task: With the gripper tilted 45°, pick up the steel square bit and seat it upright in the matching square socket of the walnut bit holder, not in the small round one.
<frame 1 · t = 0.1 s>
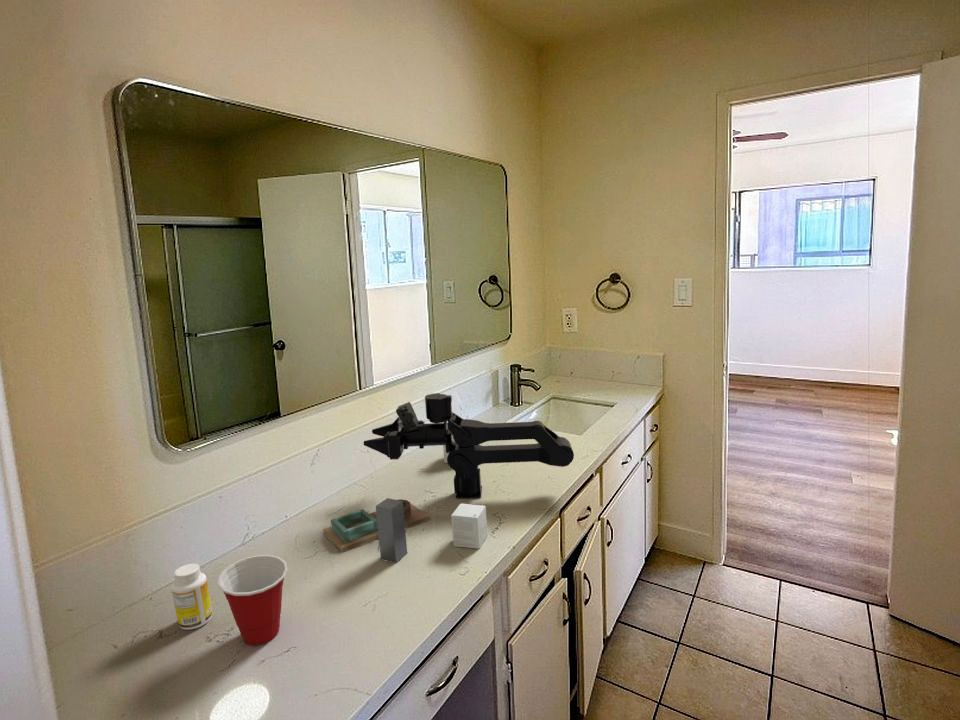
hand: (368, 437, 144), 17 cm above the worktop, tool horizontal, fingers open, 9 cm apart
supplement bottle: (196, 622, 100), on the worktop
product box: (470, 542, 122), on the worktop
plastic cup: (262, 635, 95), on the worktop
medicine bottle: (458, 459, 171), on the worktop
square bit: (394, 556, 117), on the worktop
bit holder: (377, 526, 131), on the worktop
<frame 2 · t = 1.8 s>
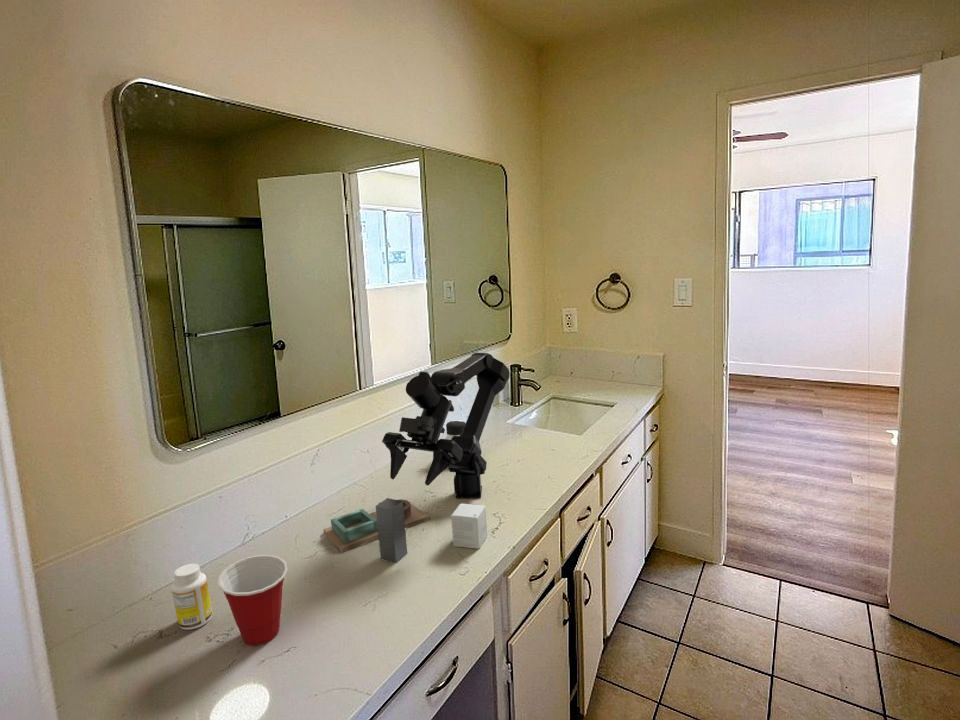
hand: (408, 481, 122), 14 cm above the worktop, tool tilted 45°, fingers open, 9 cm apart
nothing on the worktop moved.
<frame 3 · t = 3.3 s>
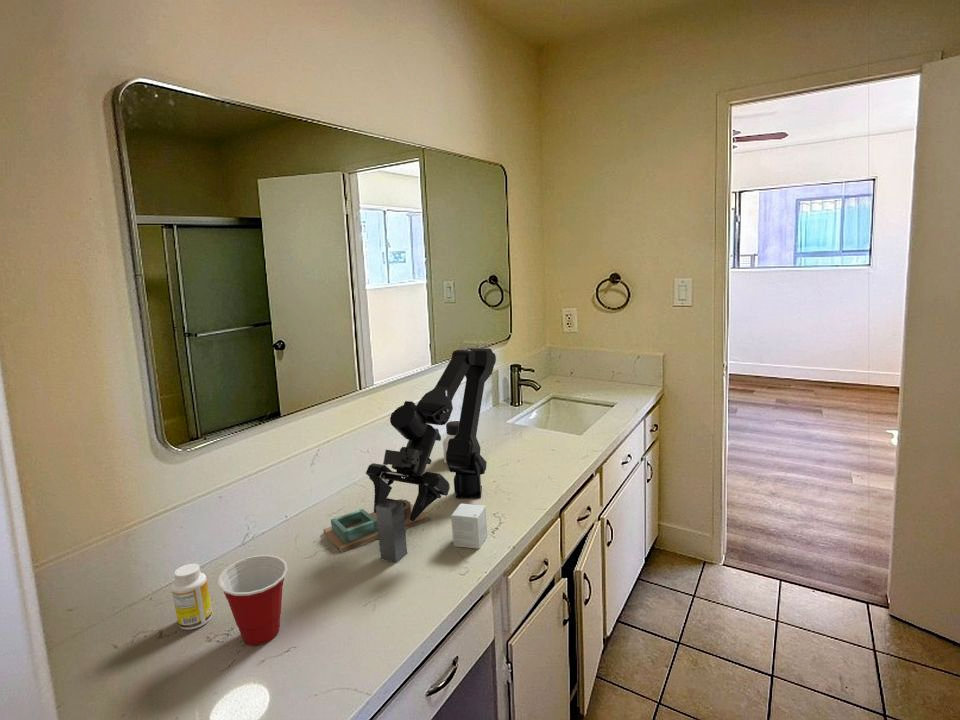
hand: (393, 516, 117), 9 cm above the worktop, tool tilted 45°, fingers open, 9 cm apart
nothing on the worktop moved.
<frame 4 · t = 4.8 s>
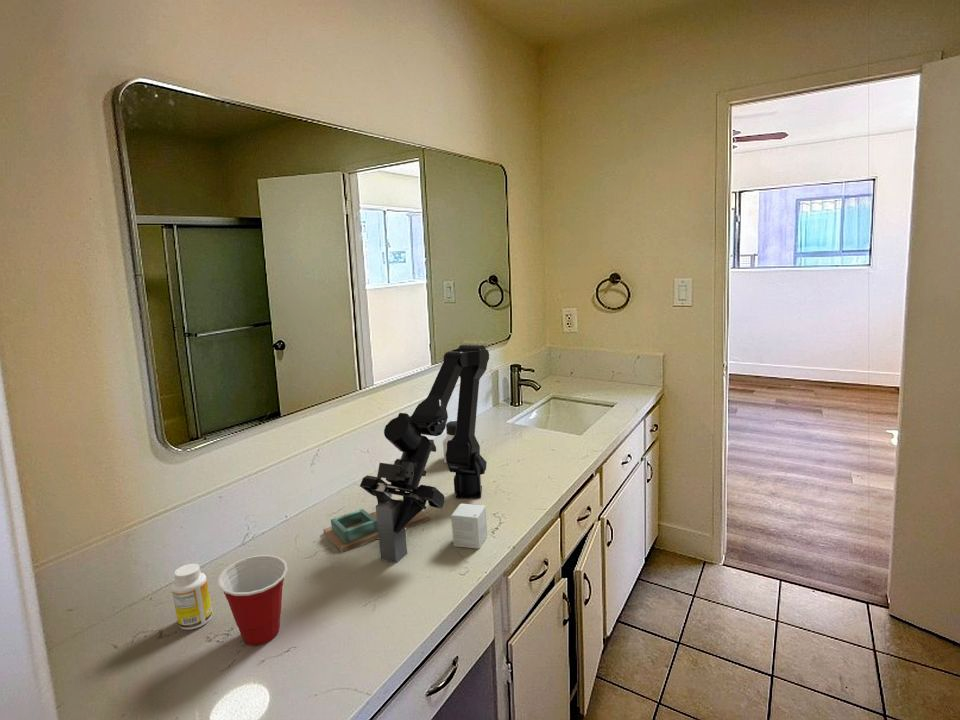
hand: (387, 530, 115), 7 cm above the worktop, tool tilted 45°, fingers closed on square bit, 4 cm apart
square bit: (394, 556, 117), on the worktop, touching gripper
everything else where it was.
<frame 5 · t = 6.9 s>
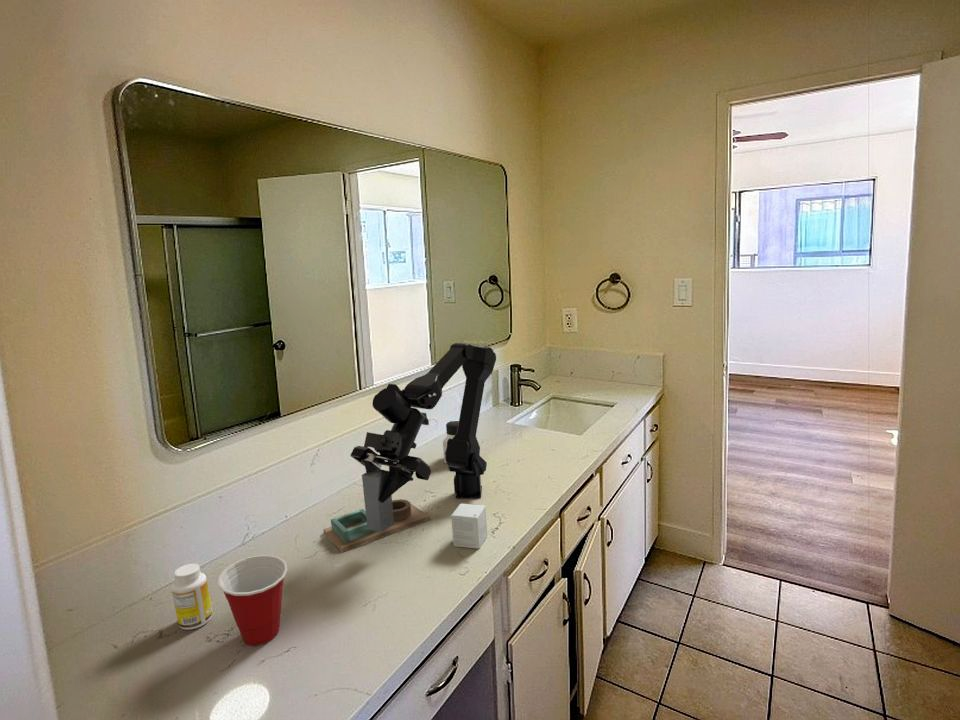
hand: (373, 499, 116), 13 cm above the worktop, tool tilted 45°, fingers closed on square bit, 4 cm apart
square bit: (380, 526, 118), point 6 cm above the worktop, touching gripper
everything else where it was.
when the fingers open (8 cm above the worktop, at t = 9.5 s): square bit stays where it is, resting on bit holder.
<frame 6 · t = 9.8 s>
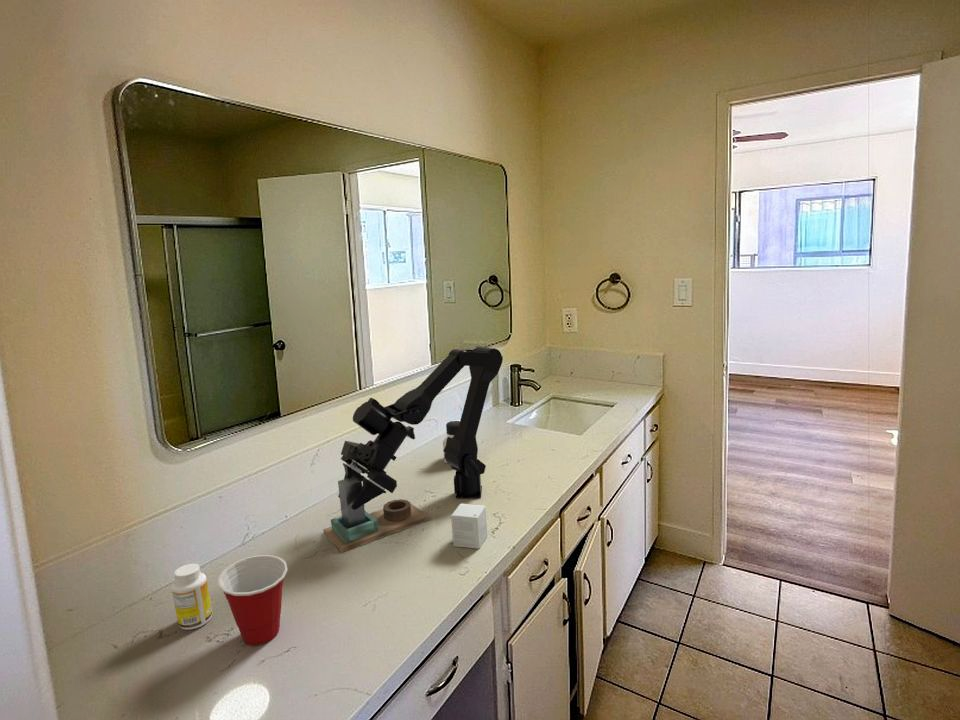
hand: (346, 503, 126), 8 cm above the worktop, tool tilted 45°, fingers open, 7 cm apart
square bit: (355, 530, 128), point 1 cm above the worktop, touching bit holder
everything else where it was.
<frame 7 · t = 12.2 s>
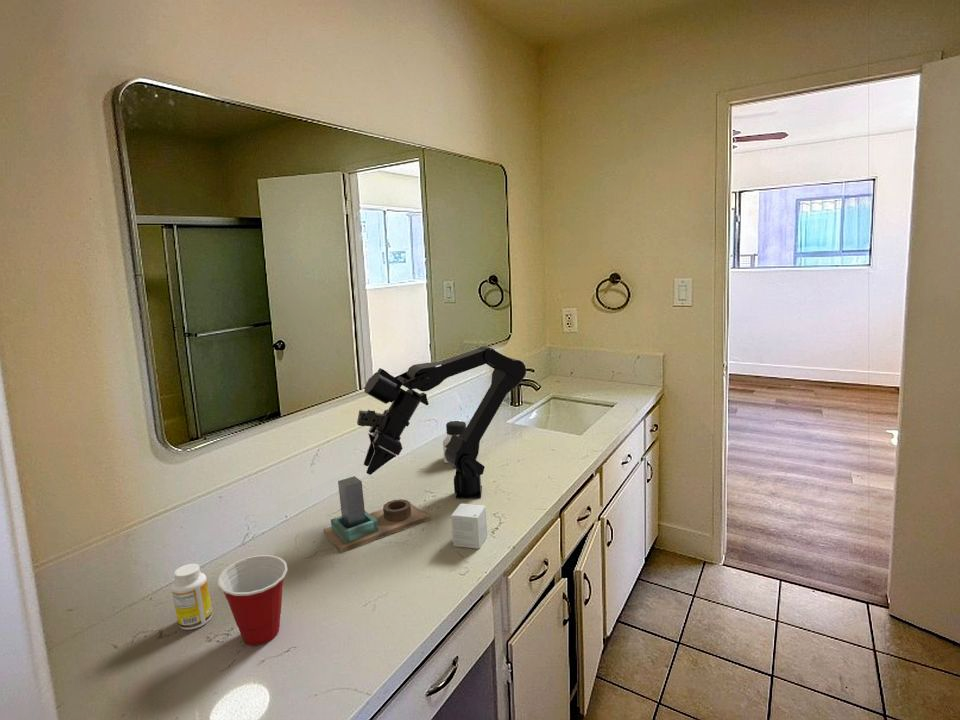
hand: (366, 469, 132), 13 cm above the worktop, tool tilted 35°, fingers open, 9 cm apart
nothing on the worktop moved.
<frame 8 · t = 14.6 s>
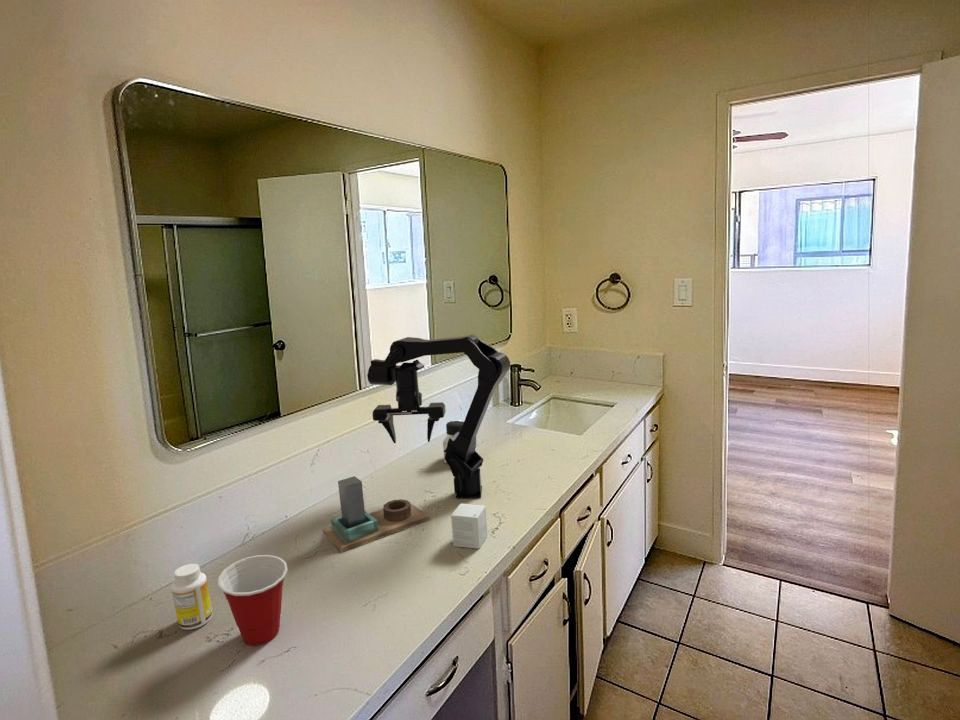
hand: (411, 442, 149), 13 cm above the worktop, tool pointing down, fingers open, 9 cm apart
nothing on the worktop moved.
at the end: square bit 0.1 cm from the target spot on the bit holder, point 1.0 cm above the bit holder's base; square bit tilted 0°; the gripper is holding nothing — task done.
